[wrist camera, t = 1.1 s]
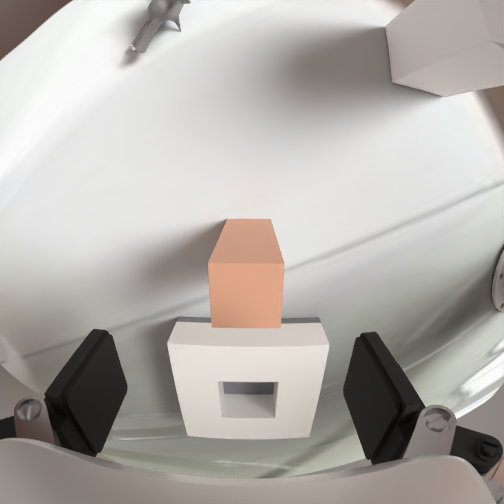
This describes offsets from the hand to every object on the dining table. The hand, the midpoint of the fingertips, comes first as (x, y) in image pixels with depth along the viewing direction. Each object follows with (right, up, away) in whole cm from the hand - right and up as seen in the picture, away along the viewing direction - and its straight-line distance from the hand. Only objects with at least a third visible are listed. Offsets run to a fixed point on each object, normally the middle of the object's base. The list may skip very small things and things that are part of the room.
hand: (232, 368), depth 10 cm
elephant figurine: (-7, +27, +11) cm, 30 cm away
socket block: (0, -10, +22) cm, 24 cm away
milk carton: (+18, +24, +11) cm, 32 cm away
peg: (0, +5, +17) cm, 18 cm away
